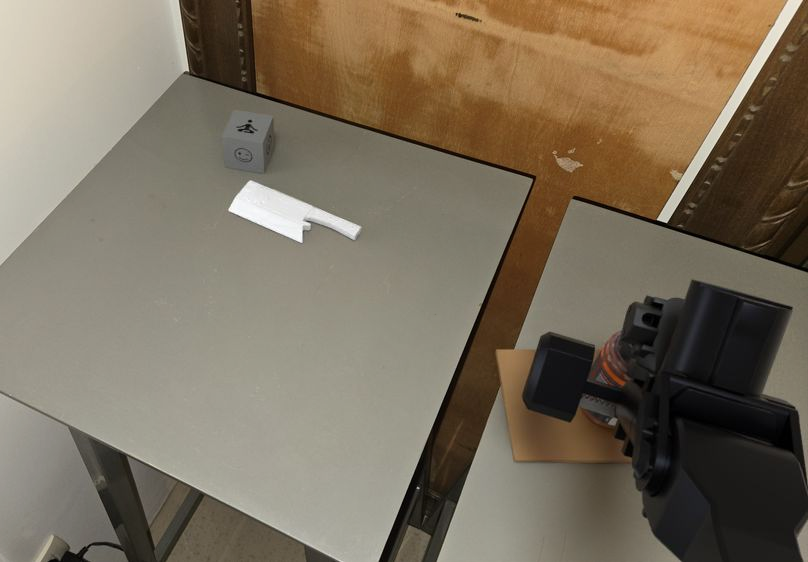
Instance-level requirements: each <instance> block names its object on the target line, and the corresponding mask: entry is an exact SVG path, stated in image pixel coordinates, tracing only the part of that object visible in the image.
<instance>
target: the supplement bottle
mask: <svg viewBox="0 0 808 562" xmlns="http://www.w3.org/2000/svg"><path fill="white" fill-rule="evenodd" d="M621 332H622V329H620V330H618V331H617V332H615V333H613V334H611V336H610V337H608V339H607V340H606V342H605V343H604V344H603V347H602V348H601V349H600V350H601V351H600V353H599V355H598V356H597V358H596V360H595V361H594V363H593V365H592V367H591V369H590V372H589V375H588V378H589V379H593V380H596V381H599V382H602V383H606V384H609V385H612V386H616V387H619V388H622V387H623V386H624V384H625V383H626V382H627V381H629V380H631V378H630V377H628V376H627V375H626V371H627V368H628V365H629V362H630V359H631V358H632V359H635V360H637V357H638V356H636V355H632V354H631V350H632V346H631V344H629V343H626V342H623V341H621ZM583 395H585V396H586V399H587V398H588V396H590V395H587V394H582V396H583ZM590 397H591V400H592V399H593V398H596V397H593V396H590ZM599 399H600V398H596V402H597V401H598V400H599ZM600 400H601V404H602V403H603V402H604V401H606V400H603V399H600ZM608 403H609V401H606V405H608ZM610 403H611V404H612V406H613V405H614V404H616V403H613V402H610ZM582 410H583V411H584V413H585V414H586V415H587V416H588V417H589V418H590V419H591V420H592V421H594V422H595V423H597V424H599V425H601V426H603V427H607V428H612V429H614V428H615V425H616V422H617V419H616V418H613V417H610V416H607V415H603V414H600V413H597V412H594V411H590V410H587V409H584V408H582Z"/></svg>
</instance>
